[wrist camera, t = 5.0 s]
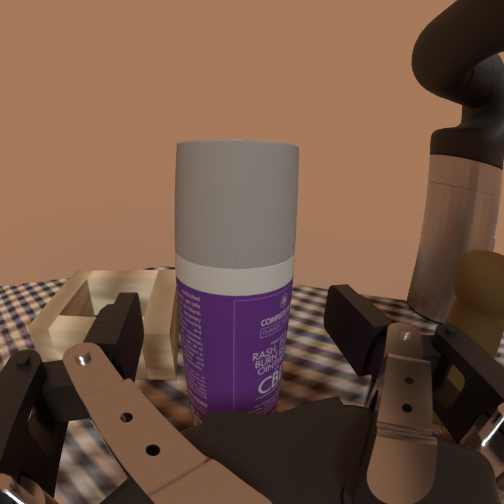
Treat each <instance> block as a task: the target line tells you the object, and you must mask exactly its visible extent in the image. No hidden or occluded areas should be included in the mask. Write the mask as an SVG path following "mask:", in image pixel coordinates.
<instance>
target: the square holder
mask: <svg viewBox="0 0 504 504" xmlns="http://www.w3.org/2000/svg"><path fill="white" fill-rule="evenodd" d="M175 272H176V270H124V271H121V270H120V271H119V270H118V271H76V272H75V273H74V275H73V276H72V277H71V278H70V279H69V280H68V281H67V282H66V283H65V284H64V285H63V286H62V288H61V289H60V290H59V291H58V292H57V293H56V294H55V295H54V297H53V298H52V299H51V300H50V301H49V302H48V303H47V305H46V306H45V307H44V308H43V309H42V310H41V312H40V313H39V314H38V315H37V316H36V318H35V319H34V320H33V321H32V323H31V324H30V325H29V326H28V329H29V332H30V335H31V338H32V340H33V343H34V346H35V348H36V351H37V352H38V353H39V354H40V356H41V358H42V361H43V362H48V361H56V360H62V359H63V354H64V353H65V351H66V350H67V349H68V348H70V347H71V346H73V345H75V344H79V343H83V341H84V339H85V337H86V335H87V333H88V331H89V330H90V328H91V326H92V325H93V322H94V320H95V319H96V317H94V315H98V313H99V311H100V310H101V309H102V308H103V307H105V306H106V305H107V304H114V302H115V300H116V298H117V296H118V294H119V293H120V292H137V293H138V295H139V299H140V306H141V313H142V316H144V318H142V319H143V325H144V341H143V345H142V350H141V354H140V358H139V363H138V367H137V372H136V377H135V379H158V380H176V374H177V355H178V340H179V327H180V323H179V312H178V301H177V288H176V273H175Z"/></svg>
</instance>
